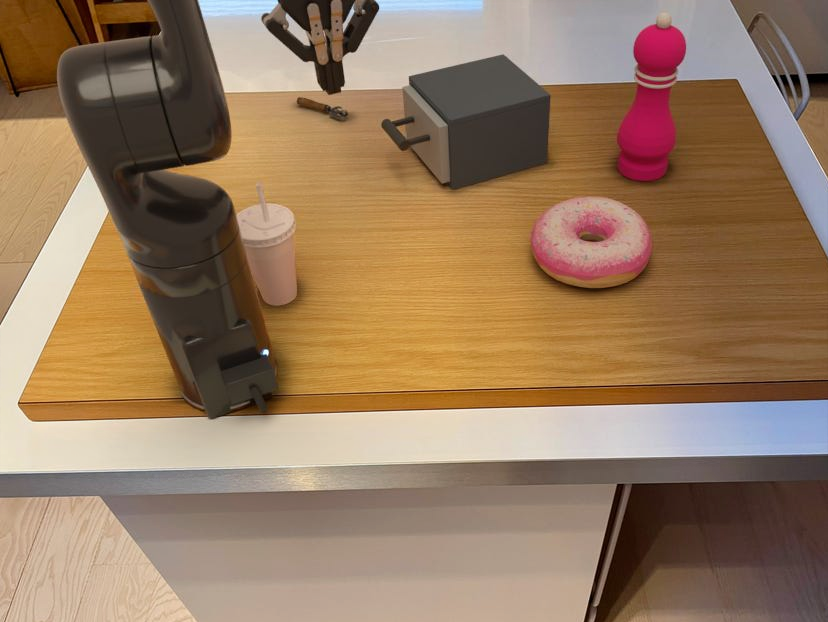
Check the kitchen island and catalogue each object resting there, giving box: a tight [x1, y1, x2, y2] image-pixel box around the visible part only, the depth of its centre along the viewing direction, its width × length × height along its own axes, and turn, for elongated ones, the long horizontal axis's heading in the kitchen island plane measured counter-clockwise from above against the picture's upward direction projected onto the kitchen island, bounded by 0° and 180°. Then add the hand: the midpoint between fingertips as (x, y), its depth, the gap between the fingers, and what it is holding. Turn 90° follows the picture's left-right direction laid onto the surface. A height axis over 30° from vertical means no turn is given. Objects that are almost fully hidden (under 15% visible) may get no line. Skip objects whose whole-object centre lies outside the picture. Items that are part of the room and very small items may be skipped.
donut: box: [530, 195, 653, 289], centre depth 91 cm, size 14×13×5 cm
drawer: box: [380, 84, 450, 184], centre depth 104 cm, size 17×11×8 cm
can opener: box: [296, 96, 349, 120], centre depth 117 cm, size 9×2×1 cm, turn 56°
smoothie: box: [236, 182, 298, 307], centre depth 84 cm, size 6×6×14 cm
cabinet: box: [408, 53, 552, 191], centre depth 105 cm, size 14×13×10 cm
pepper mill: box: [616, 11, 687, 182], centre depth 99 cm, size 7×7×20 cm
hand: (332, 91), depth 93 cm, fingers closed
